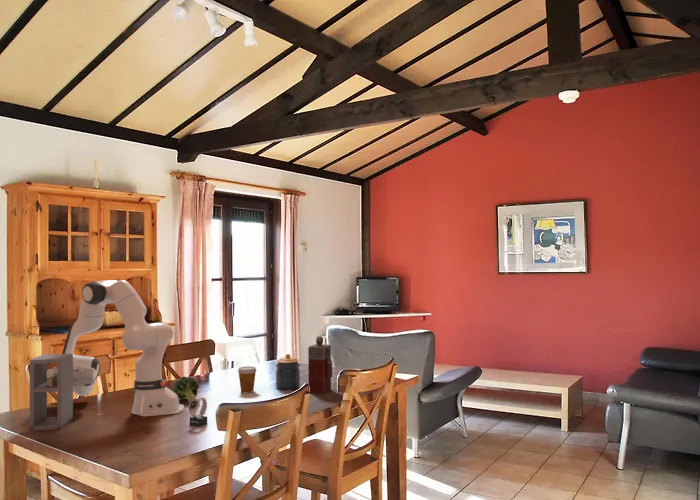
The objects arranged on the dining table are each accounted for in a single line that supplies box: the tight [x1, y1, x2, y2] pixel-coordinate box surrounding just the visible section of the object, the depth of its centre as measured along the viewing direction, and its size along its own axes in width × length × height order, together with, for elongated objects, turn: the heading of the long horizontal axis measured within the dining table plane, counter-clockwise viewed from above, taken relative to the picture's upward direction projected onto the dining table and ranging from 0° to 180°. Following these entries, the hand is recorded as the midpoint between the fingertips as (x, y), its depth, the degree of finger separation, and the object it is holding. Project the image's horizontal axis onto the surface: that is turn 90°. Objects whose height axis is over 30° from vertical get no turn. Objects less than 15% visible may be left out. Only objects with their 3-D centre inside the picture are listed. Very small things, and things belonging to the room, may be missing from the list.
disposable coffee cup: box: [237, 365, 257, 393], centre depth 298 cm, size 10×10×12 cm
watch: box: [188, 396, 208, 428], centre depth 238 cm, size 6×8×11 cm
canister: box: [275, 353, 301, 390], centre depth 307 cm, size 13×13×18 cm
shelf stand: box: [29, 353, 74, 431], centre depth 242 cm, size 12×18×28 cm, turn 7°
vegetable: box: [171, 376, 200, 404], centre depth 279 cm, size 12×13×15 cm
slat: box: [47, 374, 57, 386], centre depth 247 cm, size 2×22×3 cm, turn 7°
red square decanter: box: [307, 335, 333, 395], centre depth 297 cm, size 9×11×28 cm
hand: (66, 368), depth 256 cm, fingers open, 8 cm apart
